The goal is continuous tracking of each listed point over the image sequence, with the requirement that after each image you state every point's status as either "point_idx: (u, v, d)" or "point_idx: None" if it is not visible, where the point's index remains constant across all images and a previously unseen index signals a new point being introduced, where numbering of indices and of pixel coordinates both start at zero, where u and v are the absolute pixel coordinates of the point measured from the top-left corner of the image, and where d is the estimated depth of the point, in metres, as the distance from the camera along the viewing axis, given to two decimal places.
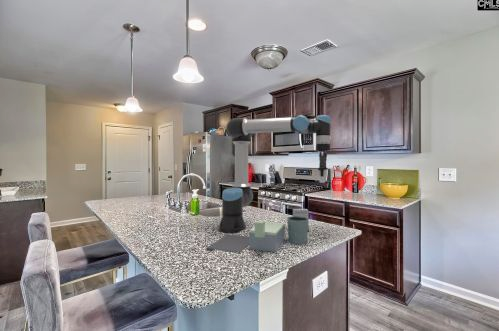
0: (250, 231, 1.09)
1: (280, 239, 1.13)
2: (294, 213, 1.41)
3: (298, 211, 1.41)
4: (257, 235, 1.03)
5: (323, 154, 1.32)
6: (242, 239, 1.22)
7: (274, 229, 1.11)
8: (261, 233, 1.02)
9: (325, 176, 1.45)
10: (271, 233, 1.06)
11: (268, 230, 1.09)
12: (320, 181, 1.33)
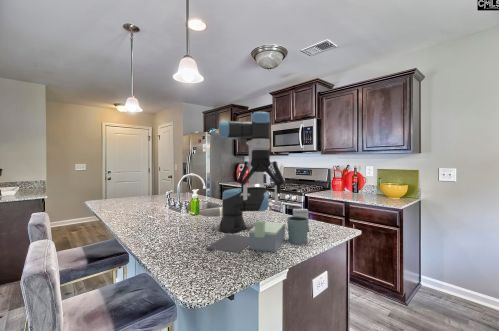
0: (250, 231, 1.09)
1: (280, 239, 1.13)
2: (294, 213, 1.41)
3: (298, 211, 1.41)
4: (257, 235, 1.03)
5: None
6: (242, 239, 1.22)
7: (274, 229, 1.11)
8: (261, 233, 1.02)
9: None
10: (271, 233, 1.06)
11: (268, 230, 1.09)
12: None
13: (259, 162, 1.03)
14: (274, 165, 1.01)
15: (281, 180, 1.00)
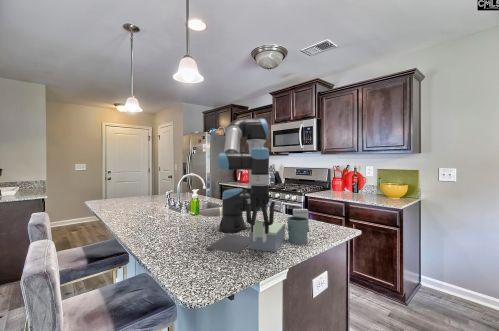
0: (250, 231, 1.09)
1: (280, 239, 1.13)
2: (294, 213, 1.41)
3: (298, 211, 1.41)
4: (257, 235, 1.03)
5: None
6: (242, 239, 1.22)
7: (274, 229, 1.11)
8: (261, 233, 1.02)
9: (263, 235, 1.03)
10: (271, 233, 1.06)
11: None
12: None
13: (258, 197, 1.03)
14: (271, 205, 1.01)
15: (270, 221, 1.01)
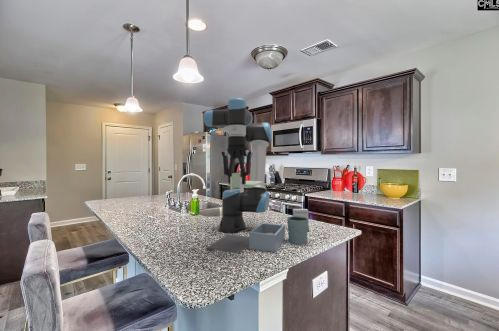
0: (228, 185, 1.10)
1: (280, 239, 1.13)
2: (294, 213, 1.41)
3: (298, 211, 1.41)
4: (234, 186, 1.04)
5: None
6: (242, 239, 1.22)
7: (252, 183, 1.12)
8: (238, 183, 1.03)
9: (240, 186, 1.03)
10: (248, 185, 1.07)
11: None
12: None
13: (235, 148, 1.04)
14: (248, 155, 1.02)
15: (247, 171, 1.02)
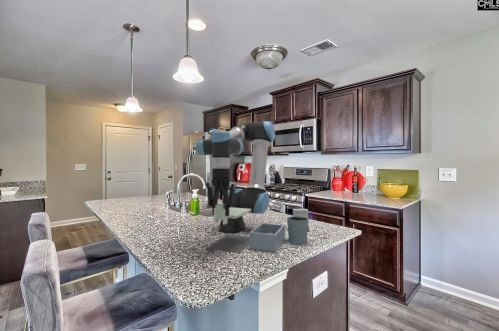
0: None
1: (280, 239, 1.13)
2: (294, 213, 1.41)
3: (298, 211, 1.41)
4: (217, 217, 1.04)
5: None
6: (242, 239, 1.22)
7: (237, 213, 1.12)
8: (221, 215, 1.04)
9: (223, 218, 1.04)
10: (232, 216, 1.07)
11: (230, 214, 1.10)
12: None
13: (219, 180, 1.04)
14: (231, 187, 1.02)
15: (230, 203, 1.03)
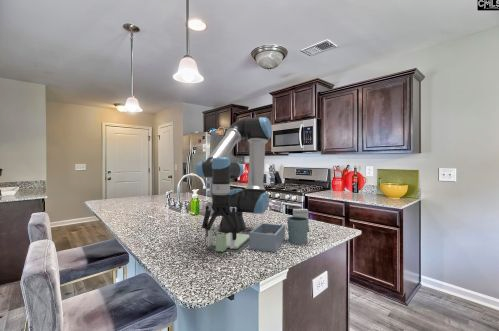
0: (213, 244, 1.11)
1: (280, 239, 1.13)
2: (294, 213, 1.41)
3: (298, 211, 1.41)
4: (218, 249, 1.05)
5: None
6: None
7: (237, 242, 1.12)
8: (221, 247, 1.04)
9: None
10: (233, 247, 1.08)
11: None
12: None
13: (219, 206, 1.05)
14: (233, 211, 1.02)
15: (236, 227, 1.02)
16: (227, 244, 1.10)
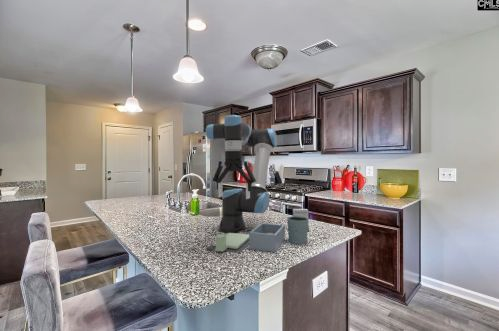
0: (213, 244, 1.11)
1: (280, 239, 1.13)
2: (294, 213, 1.41)
3: (298, 211, 1.41)
4: (218, 249, 1.05)
5: None
6: None
7: (237, 242, 1.12)
8: (221, 247, 1.04)
9: (246, 192, 1.09)
10: (233, 247, 1.08)
11: (230, 243, 1.11)
12: None
13: (232, 162, 1.11)
14: (245, 165, 1.08)
15: (251, 179, 1.08)
16: (227, 244, 1.10)
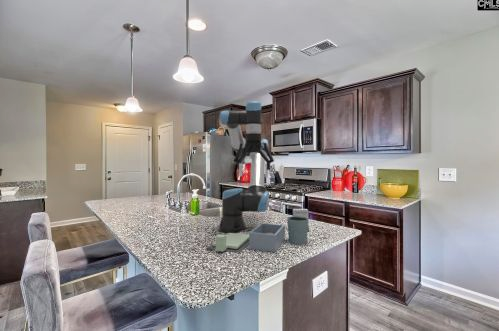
0: (213, 244, 1.11)
1: (280, 239, 1.13)
2: (294, 213, 1.41)
3: (298, 211, 1.41)
4: (218, 249, 1.05)
5: None
6: None
7: (237, 242, 1.12)
8: (221, 247, 1.04)
9: (265, 171, 1.20)
10: (233, 247, 1.08)
11: (230, 243, 1.11)
12: None
13: (252, 144, 1.22)
14: (264, 146, 1.20)
15: (270, 158, 1.19)
16: (227, 244, 1.10)
